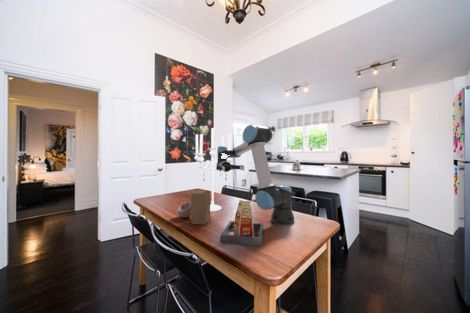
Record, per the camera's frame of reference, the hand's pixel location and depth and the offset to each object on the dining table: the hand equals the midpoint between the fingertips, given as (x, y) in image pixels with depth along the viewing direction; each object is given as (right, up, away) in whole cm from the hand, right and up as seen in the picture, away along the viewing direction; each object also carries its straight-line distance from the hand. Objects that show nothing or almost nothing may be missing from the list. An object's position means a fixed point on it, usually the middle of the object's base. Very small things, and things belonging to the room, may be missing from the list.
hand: (234, 168), depth 126 cm
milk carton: (+5, -35, -23) cm, 42 cm away
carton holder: (+5, -35, -23) cm, 42 cm away
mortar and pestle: (-34, -35, +8) cm, 49 cm away
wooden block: (-22, -35, -1) cm, 41 cm away
